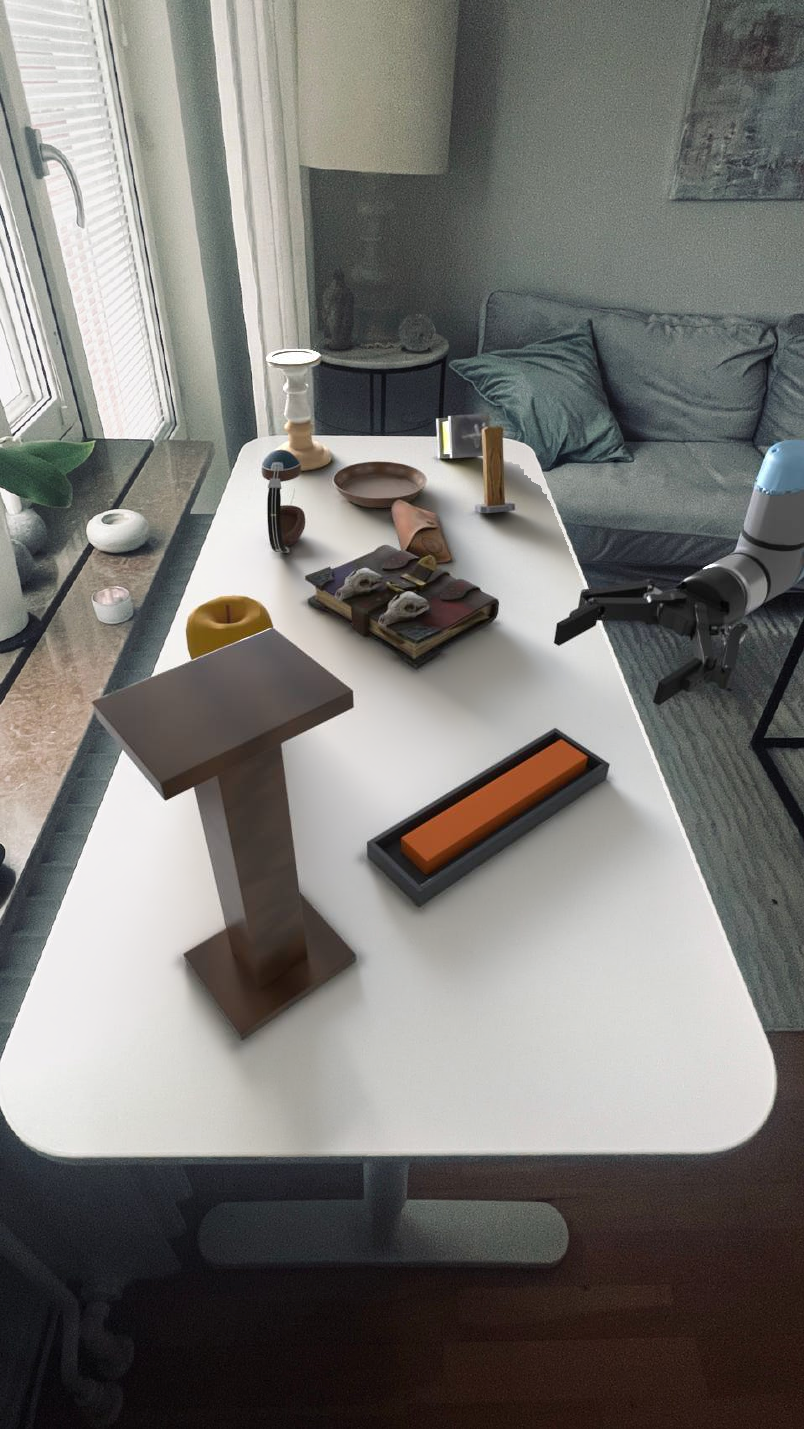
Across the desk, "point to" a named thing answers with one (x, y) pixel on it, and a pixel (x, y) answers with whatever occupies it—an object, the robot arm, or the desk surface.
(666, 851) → the desk surface
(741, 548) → the robot arm
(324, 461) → the candle holder
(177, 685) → the stand
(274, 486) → the headphones
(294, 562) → the desk surface
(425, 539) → the sunglasses case
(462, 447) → the desk lamp
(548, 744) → the tray
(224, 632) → the apple
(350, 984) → the desk surface
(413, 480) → the plant saucer
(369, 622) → the book
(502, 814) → the orange long flat bar
